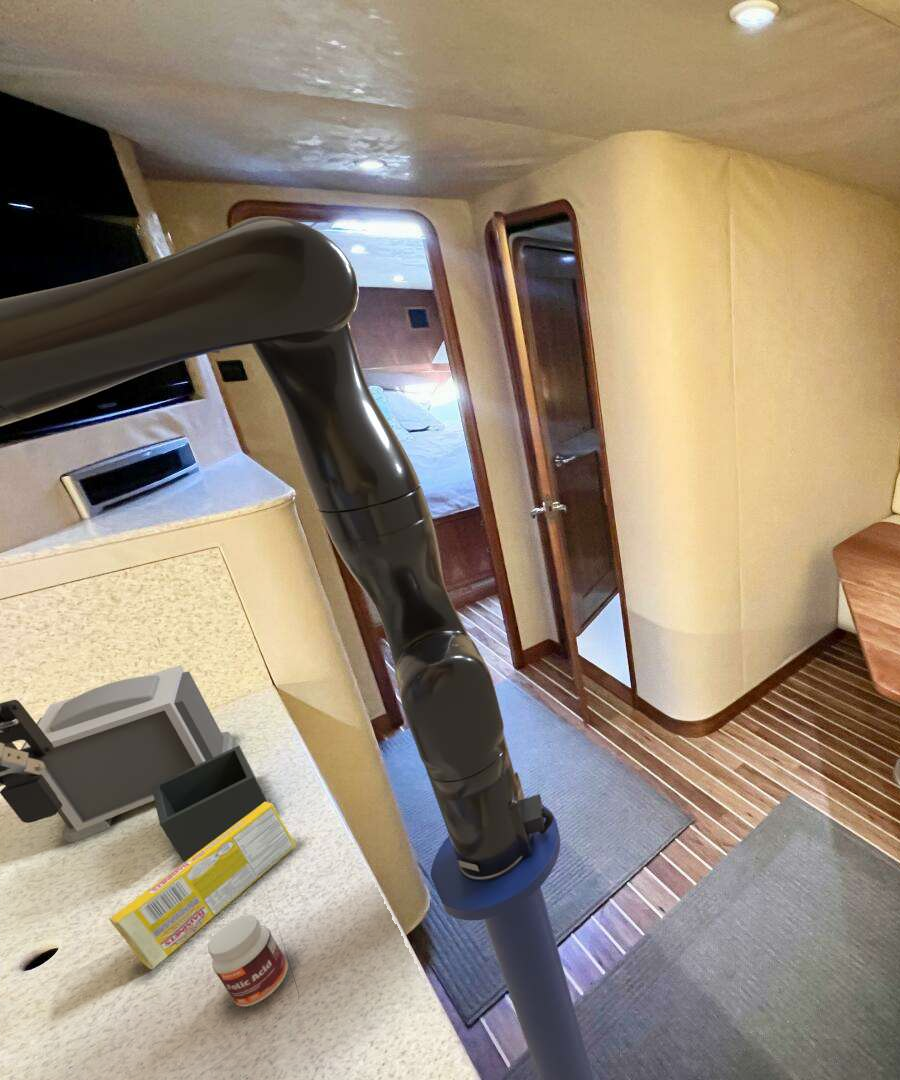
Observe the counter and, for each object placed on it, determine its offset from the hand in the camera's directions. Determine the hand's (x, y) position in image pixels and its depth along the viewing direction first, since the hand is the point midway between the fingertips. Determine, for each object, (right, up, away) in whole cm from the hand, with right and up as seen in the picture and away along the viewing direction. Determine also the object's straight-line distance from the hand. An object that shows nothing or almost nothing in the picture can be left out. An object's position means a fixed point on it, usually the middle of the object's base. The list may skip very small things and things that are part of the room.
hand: (13, 855), depth 42 cm
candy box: (-7, -21, +26) cm, 34 cm away
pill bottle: (+6, -24, +16) cm, 30 cm away
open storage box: (-18, -17, +37) cm, 45 cm away
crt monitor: (-36, -15, +45) cm, 59 cm away
